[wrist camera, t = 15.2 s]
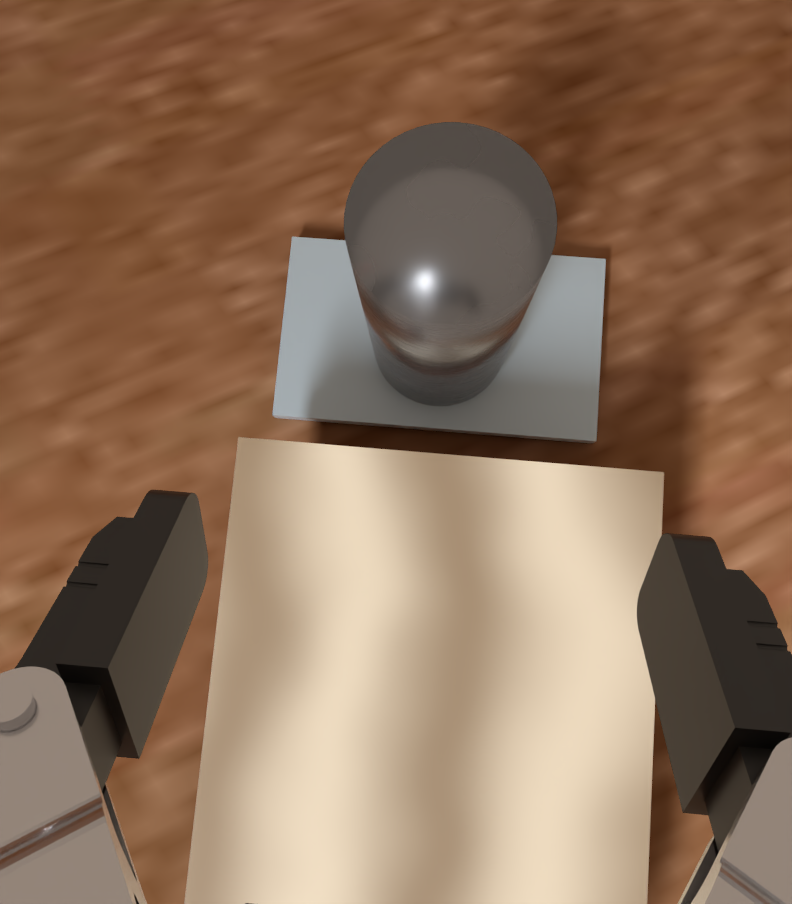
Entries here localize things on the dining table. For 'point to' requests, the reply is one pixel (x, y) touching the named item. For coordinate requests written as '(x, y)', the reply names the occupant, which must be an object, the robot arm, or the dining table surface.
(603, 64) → the dining table surface
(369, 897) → the birch slab
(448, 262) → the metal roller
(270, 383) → the dining table surface
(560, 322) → the slate-grey pad
